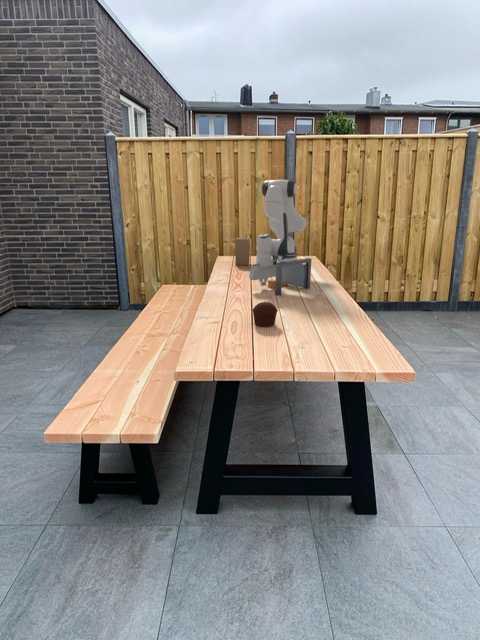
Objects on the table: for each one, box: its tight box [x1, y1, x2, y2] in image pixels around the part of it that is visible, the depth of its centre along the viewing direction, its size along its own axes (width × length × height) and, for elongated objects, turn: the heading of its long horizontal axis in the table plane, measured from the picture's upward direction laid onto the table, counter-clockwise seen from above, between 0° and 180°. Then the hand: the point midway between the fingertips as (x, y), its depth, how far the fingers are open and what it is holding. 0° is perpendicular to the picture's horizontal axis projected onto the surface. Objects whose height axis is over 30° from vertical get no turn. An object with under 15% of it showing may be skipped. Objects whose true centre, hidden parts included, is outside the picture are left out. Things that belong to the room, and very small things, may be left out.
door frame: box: [274, 257, 312, 296], centre depth 263 cm, size 27×2×18 cm, turn 131°
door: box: [279, 260, 307, 289], centre depth 277 cm, size 22×1×14 cm, turn 41°
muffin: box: [251, 301, 279, 328], centre depth 204 cm, size 12×11×10 cm
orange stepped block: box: [267, 279, 288, 289], centre depth 279 cm, size 12×5×4 cm, turn 132°
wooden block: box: [234, 237, 251, 267], centre depth 342 cm, size 10×10×20 cm
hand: (263, 285), depth 271 cm, fingers closed
